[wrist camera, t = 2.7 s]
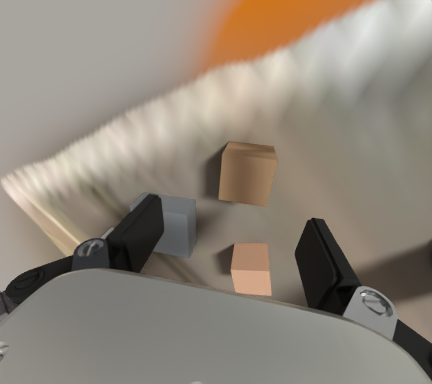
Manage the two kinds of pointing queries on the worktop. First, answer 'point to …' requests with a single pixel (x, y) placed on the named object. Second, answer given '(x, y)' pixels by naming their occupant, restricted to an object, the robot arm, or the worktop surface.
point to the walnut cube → (247, 173)
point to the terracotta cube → (251, 268)
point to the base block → (175, 225)
